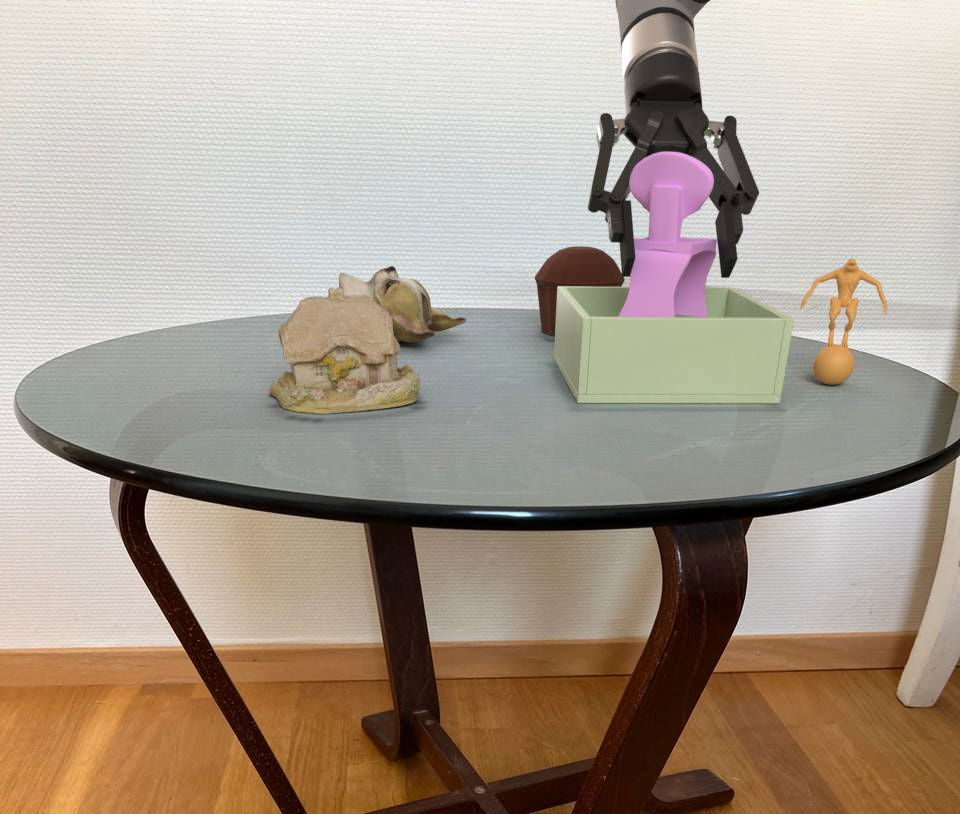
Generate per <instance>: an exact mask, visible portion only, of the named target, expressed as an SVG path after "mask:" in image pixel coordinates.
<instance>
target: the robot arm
mask: <svg viewBox="0 0 960 814" xmlns="http://www.w3.org/2000/svg"><path fill="white" fill-rule="evenodd" d="M709 2H711V0H615V7H616V8H615V9H616V12H617V18H618V26H619V27H618V28H619V39H620V47H621V48H620V53H621V59H622V60H621V65H622V77H623V85H624V86H623V87H624V88H623V89H624V90H623V91H624V92H623V94H624V105H625V116H624V118H617V119H613V116H612V114H610V113H608V112H603V113H602V114H600V116H599V121H598V126H597V130H596V137H595V138H596V143H597V148H598V155H597V160H596V163H595V170H594V174H593V179H592V183H591V189H590V193H589V198H588V203H587V210H588V211H589V212H590V213H593V214H594V213H595V214H596V213H598V212H602V213H603V214H605V216H604V221H605V222H606V223H607V229H608V230H607V233H608V239H609V241H610V243H619V254H620V268H621V269H620V271H621V273H622V277H624V278H630V274H631V271H632V268H633V265H634V261H635V246H634V239H635V237H634V236H635V235H634V222H633V209H632V200H631V199H628V197H629V196H630V194H631V191H630V187H629V180H630V176H631V172H632V170H633V168H634V167H635V166H636V165H637V164H638V163H639V162H640V161H641V160H643V159H644V158H646V157H648V156H650V155H652V154H655V153H658V152H679V153H684V154H687V155H689V156H691V157H694V158H695V159H697V160H699V161H701V162H702V163H703V164H705V165H706V166H707V167H708V168H709V169H710V170H711V172H712V174H713V177H714V185H713V189H712V192H711V194H710V195H709V197H708V198H709V199H710V201H711V202H712V204H713V206H714V207H715V208H716V209H717V212H718V213H717V216H716V218H715V221H714V223H715V233H716V239H717V250H718V251H717V252H718V261H719V268H720V277H721V279H729V278H730V277H731V275H732V273H733V271H734V268H735V266H736V264H737V262H738V260H739V258H738V251H737V250H738V249H737V245H738V244H739V242H740V239H741V237H742V235H743V232H744V225H743V223H744V222H743V216H748V215H750V214H751V213H752V210H753V208H754V206H755V203H756V202H757V199H758V198H759V195H760V190H759V188H758V185H757V183H756V180H755V178H754V175H753V173H752V170H751V168H750V164H749V162H748V160H747V158H746V155H745V152H744V150H743V148H742V146H741V143H740V140H739V138H738V135H737V125H738V124H737V118H736V117H735V116H733V115H726V116H725V118H724V120H723V121H715V120H709V117H708V115H707V114H706V113H705V111H704V110H703V96H702V87H701V78H700V72H699V58H698V52H697V51H698V50H697V43H696V35H695V23H694V19H695V18H696V16H697V15H698V13H700V11H702V10H703V8H705V6H706V5H707V4H708V3H709ZM622 135H623V136H624V137H625V138H626V139H627V140H628V141H629V142H630V144H631V145H632V146H633V147H634V149H633V151H632V152H631V155H630V157H629V158H628V160H627V162H626V164H625V166H624V168H623V170H622V171H621V173H620V175H619V177H618V179H617V181H616V183H615V184H614V186H613V188H612V190H611V191H609V190H605V187H606V183H607V182H606V181H607V177H608V172H609V167H610V162H611V157H612V152H613V148H614V147H615V145H616V144H618V143H619V141H620V137H621V136H622ZM705 137H708V138H710V140H711V143H712V148H713V149H716V150H717V156H718V159H719V162H720V164H719V162H718V161H717V159H716V158H715V157H714V155H713V154H712V153H711V151H710V149H708V142H707V140H706V138H705Z"/></svg>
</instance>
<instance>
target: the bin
mask: <svg viewBox="0 0 960 814" xmlns="http://www.w3.org/2000/svg"><path fill="white" fill-rule="evenodd" d="M629 289H630V286H621V287H592V286H565V287H564V286H558V287H557V306H556V326H555V336H554V346H553V347H554V349H553V360H554V361H555V363H556V365H557V368H558V370H559V371H560V373H561V375H562V376H563V377H562V378H564V380H565V382H566V384H567V386H568V388H569V389H570V391H571V393H572V395H573V397H574V399H575V401H576V402H577V404H766V405H767V404H769V405H770V404H771V405H772V404H781V401H782V400H781V399H782V394H783V393H782V392H783V389H784V382H785V376H786V371H787V370H786V369H787V363H788V357H789V352H790V345H791V340H792V334H793V328H794V322H795V319H794V318H792V317H790V316H788V315H787V314H785V313H783V312H781V311H779V310H777V309H776V308H774V307H772V306H769V305H767V304H766V303H764V302H762V301H760V300H758V299H756V298H755V297H753V296H751V295H749V294H747V293H745V292H743V291H741V290H739V289H737V288H736V287H721V286H720V287H719V286H718V287H714V286H713V287H711V286H710V287H709V286H707V287H706V286H705V301H706V309H707V317H694V316H685V315H677V314H675V317H618V316H619V314H620V312H621V310H622V308H623V306H624V304H625V302H626V299H627V297H628V293H629Z"/></svg>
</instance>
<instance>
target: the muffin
mask: <svg viewBox="0 0 960 814" xmlns="http://www.w3.org/2000/svg"><path fill="white" fill-rule="evenodd" d="M534 281H535V284H536V289H537V290H536V291H537V299H538V309H539V320H540V329H541V333H543V334H547V335H549V336H551V337H555V326H556V306H557V287H558V286H564V287H565V286H592V287H623V285H624V283H625V281H626V280H625V277H622V270H621V269H620V267H619V265H618V264H617V262H616V261H615V259H614V258H613V257H612V256H611V255H609V254H608V253H607V252H606V251H604V250H602V249H599V248H597V247H593V246H583V245H581V246H580V245H579V246H577V245H576V246H575V245H574V246H568V247H565V248H561V249H559V250H558V251H556V252H555V253H553V254H551V255H550V256H549V257H548V258H547V259H546V260H545V261H544V262H543V264H542V265H541V267H540V268H539V270H538V271H537V272H536V274H535V275H534Z"/></svg>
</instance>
